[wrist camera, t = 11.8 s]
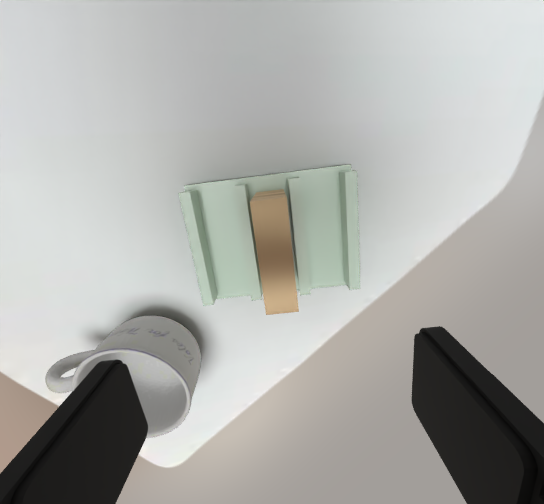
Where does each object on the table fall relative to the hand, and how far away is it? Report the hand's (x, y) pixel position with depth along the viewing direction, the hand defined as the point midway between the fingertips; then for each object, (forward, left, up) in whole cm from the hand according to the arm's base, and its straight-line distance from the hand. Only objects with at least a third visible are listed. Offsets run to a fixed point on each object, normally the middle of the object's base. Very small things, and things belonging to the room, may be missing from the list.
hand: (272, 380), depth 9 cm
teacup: (+11, -16, -20) cm, 28 cm away
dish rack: (0, 0, -20) cm, 20 cm away
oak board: (0, 0, -19) cm, 19 cm away
